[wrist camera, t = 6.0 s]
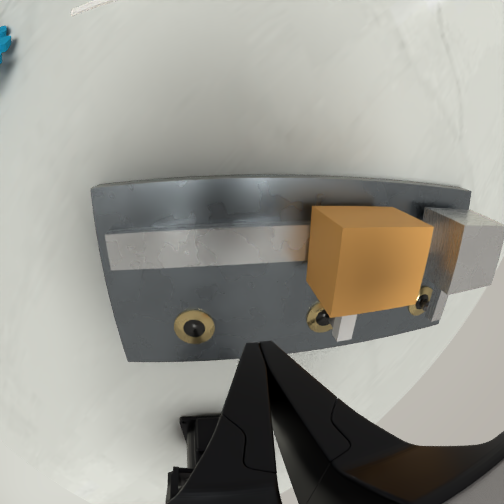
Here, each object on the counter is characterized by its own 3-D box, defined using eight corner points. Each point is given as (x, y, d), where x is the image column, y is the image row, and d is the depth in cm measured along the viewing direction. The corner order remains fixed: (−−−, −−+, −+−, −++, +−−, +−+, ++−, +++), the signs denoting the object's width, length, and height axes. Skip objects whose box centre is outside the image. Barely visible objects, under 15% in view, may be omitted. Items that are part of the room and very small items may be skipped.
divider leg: (365, 318, 22) (396, 358, 17) (297, 328, 21) (318, 375, 17) (386, 204, 19) (433, 226, 14) (307, 202, 18) (342, 228, 13)
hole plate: (430, 316, 27) (467, 353, 20) (131, 350, 23) (116, 411, 16) (460, 187, 21) (515, 207, 15) (98, 184, 17) (50, 210, 11)
